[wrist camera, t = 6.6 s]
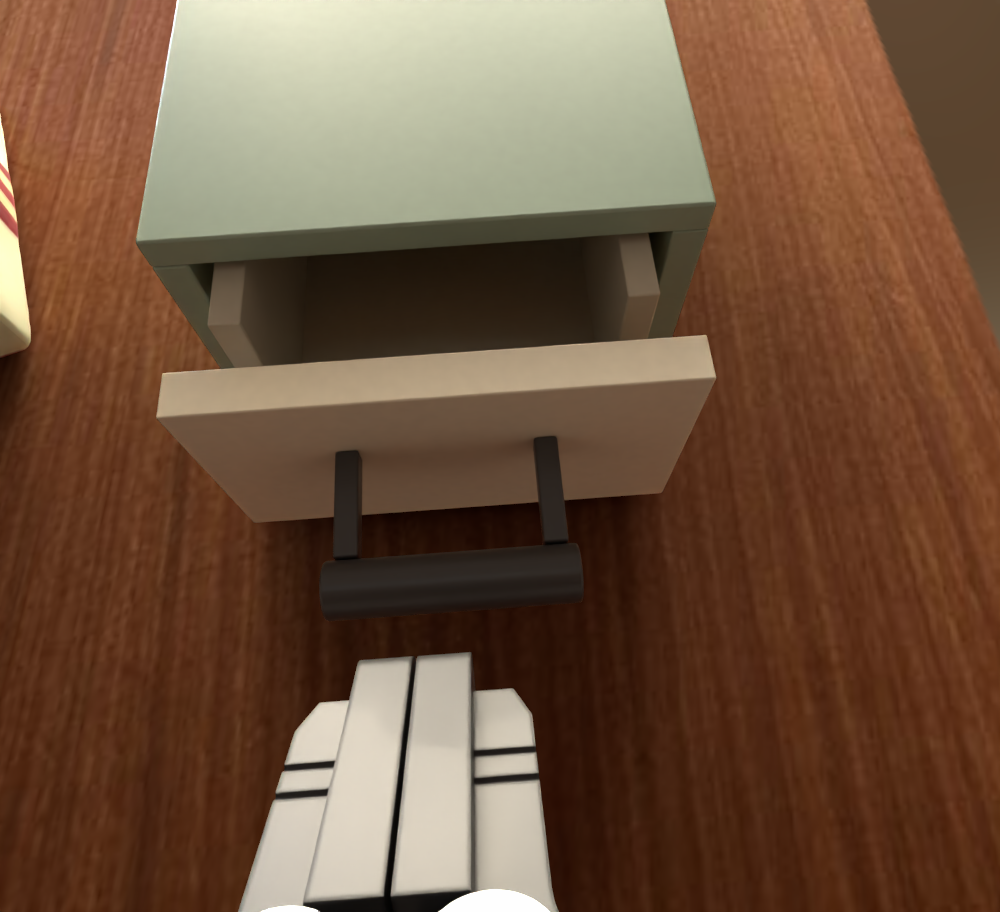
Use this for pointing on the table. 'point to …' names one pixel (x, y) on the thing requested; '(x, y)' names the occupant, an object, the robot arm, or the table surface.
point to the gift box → (11, 270)
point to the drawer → (441, 404)
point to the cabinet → (419, 135)
